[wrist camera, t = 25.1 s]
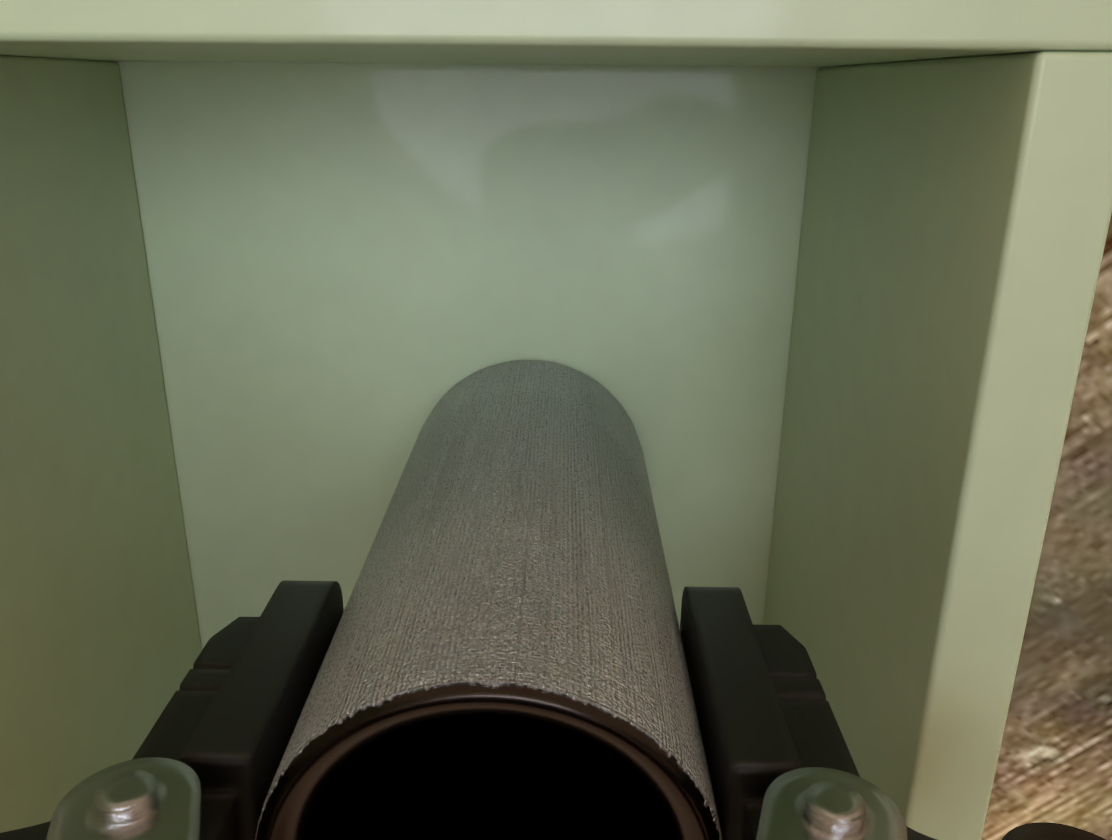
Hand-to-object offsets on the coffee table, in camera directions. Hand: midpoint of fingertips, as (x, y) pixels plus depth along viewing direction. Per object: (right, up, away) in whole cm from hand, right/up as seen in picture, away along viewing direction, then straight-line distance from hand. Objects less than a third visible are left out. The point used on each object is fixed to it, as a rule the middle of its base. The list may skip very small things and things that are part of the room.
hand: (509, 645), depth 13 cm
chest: (-1, +2, +7) cm, 7 cm away
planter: (0, +2, +6) cm, 7 cm away
